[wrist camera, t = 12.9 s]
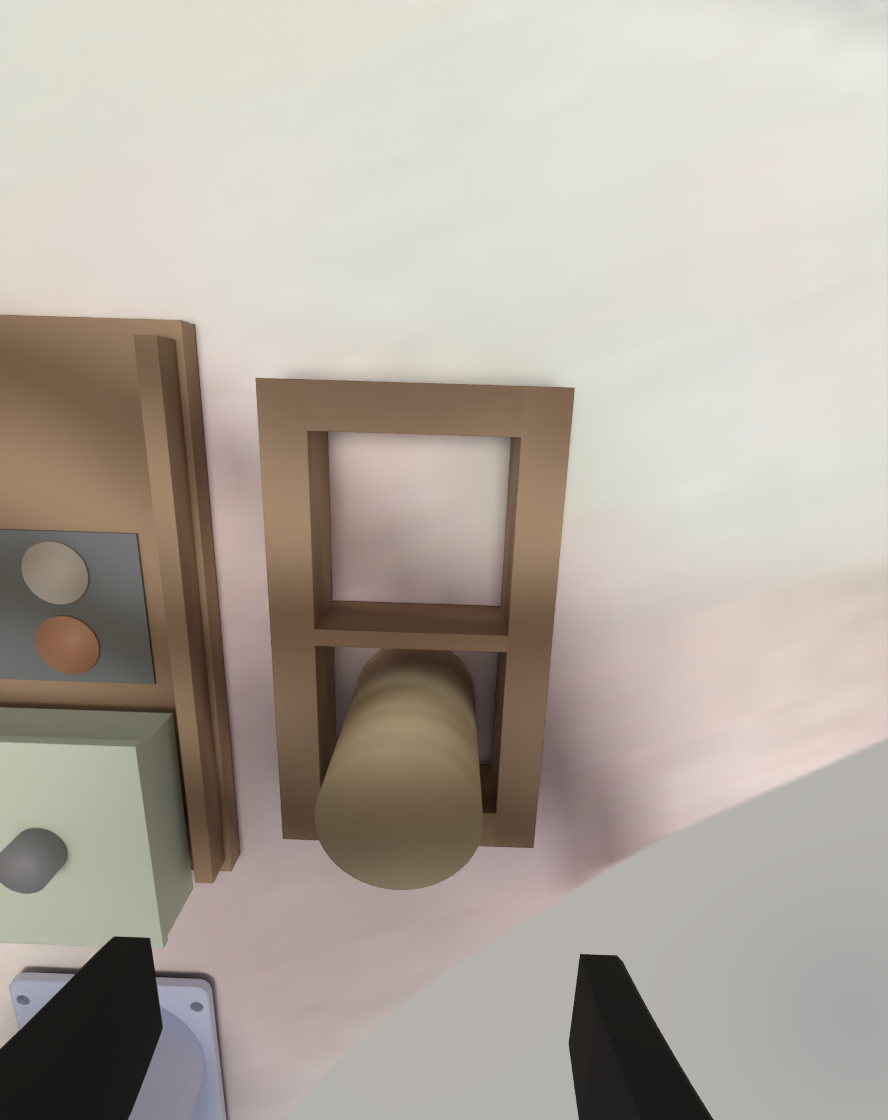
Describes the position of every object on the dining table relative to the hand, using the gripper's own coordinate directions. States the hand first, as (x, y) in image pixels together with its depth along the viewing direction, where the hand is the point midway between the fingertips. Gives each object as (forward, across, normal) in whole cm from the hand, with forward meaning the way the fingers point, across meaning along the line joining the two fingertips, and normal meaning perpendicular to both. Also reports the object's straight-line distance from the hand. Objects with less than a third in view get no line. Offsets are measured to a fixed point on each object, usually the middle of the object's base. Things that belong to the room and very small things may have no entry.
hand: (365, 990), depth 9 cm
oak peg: (+10, 0, 0) cm, 10 cm away
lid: (+9, +11, +4) cm, 14 cm away
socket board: (+10, 0, -3) cm, 10 cm away
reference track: (+10, +11, -2) cm, 15 cm away
